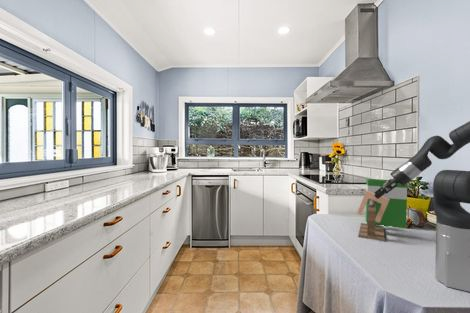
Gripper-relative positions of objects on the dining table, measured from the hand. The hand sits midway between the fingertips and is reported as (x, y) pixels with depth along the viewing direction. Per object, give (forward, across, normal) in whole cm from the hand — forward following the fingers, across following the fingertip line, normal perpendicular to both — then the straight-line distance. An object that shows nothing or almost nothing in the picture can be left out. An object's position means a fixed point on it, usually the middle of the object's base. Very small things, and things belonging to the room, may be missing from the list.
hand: (375, 195), depth 112 cm
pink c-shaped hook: (+10, 0, -6) cm, 11 cm away
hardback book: (+10, +20, -16) cm, 27 cm away
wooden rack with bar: (+14, 0, -12) cm, 18 cm away
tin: (0, +30, -26) cm, 40 cm away
